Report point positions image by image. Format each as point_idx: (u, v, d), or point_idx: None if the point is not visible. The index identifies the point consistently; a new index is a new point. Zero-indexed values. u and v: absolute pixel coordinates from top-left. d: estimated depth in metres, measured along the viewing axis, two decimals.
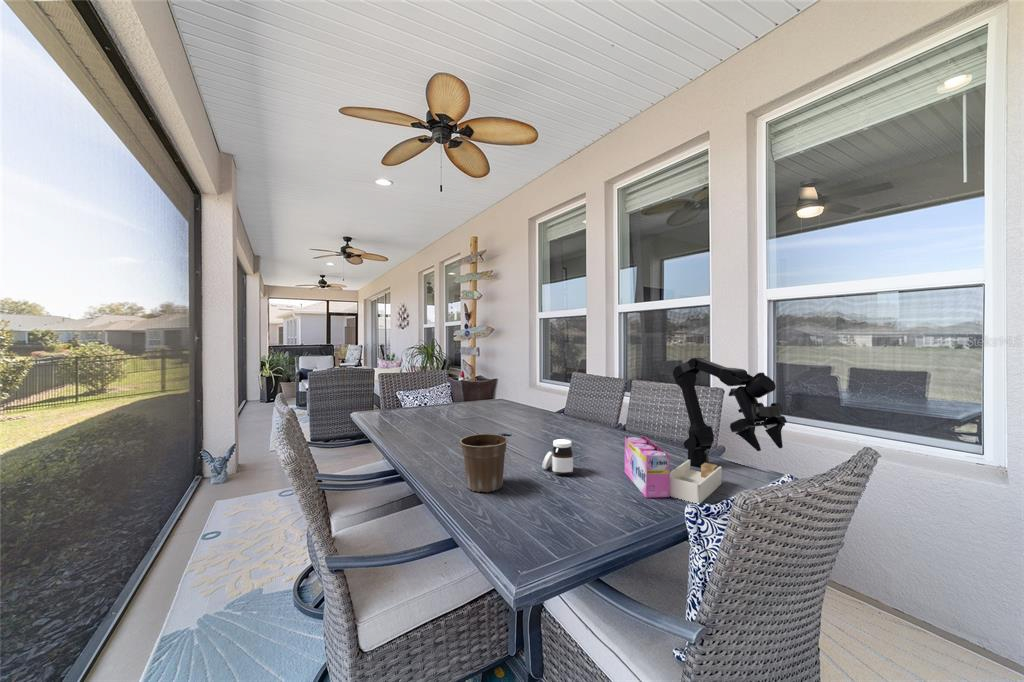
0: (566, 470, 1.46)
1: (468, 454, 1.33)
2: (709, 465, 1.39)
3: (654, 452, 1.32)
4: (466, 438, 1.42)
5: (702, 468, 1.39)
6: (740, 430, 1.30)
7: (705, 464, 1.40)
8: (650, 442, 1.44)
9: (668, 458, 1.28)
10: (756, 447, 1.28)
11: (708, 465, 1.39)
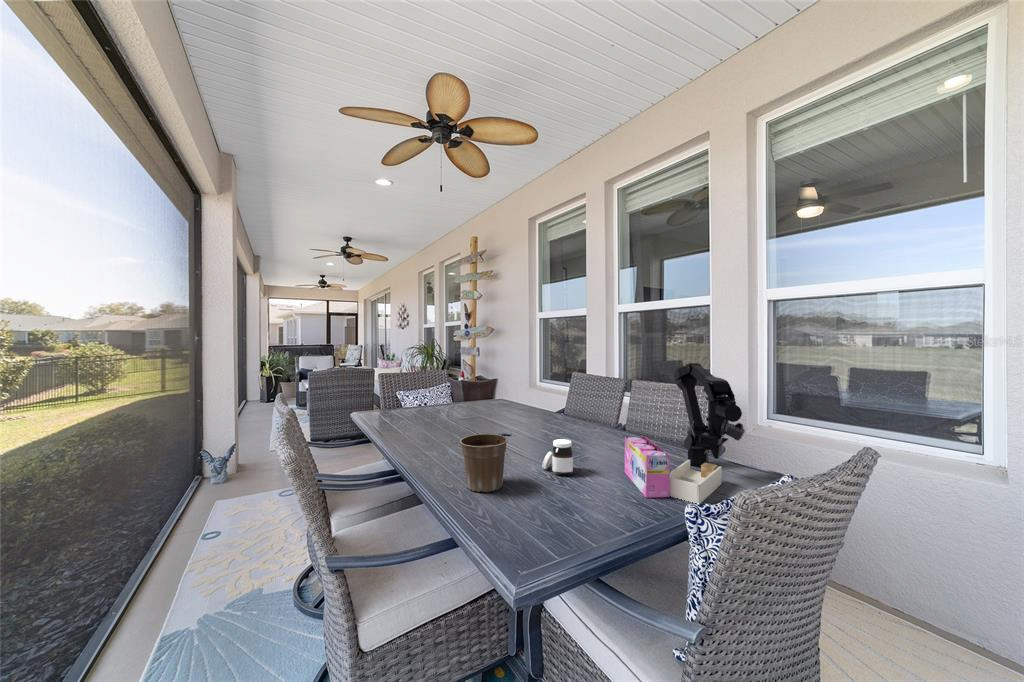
0: (566, 470, 1.46)
1: (468, 454, 1.33)
2: (709, 465, 1.39)
3: (654, 452, 1.32)
4: (466, 438, 1.42)
5: (702, 468, 1.39)
6: None
7: (705, 464, 1.40)
8: (650, 442, 1.44)
9: (668, 458, 1.28)
10: (716, 456, 1.44)
11: (708, 465, 1.39)
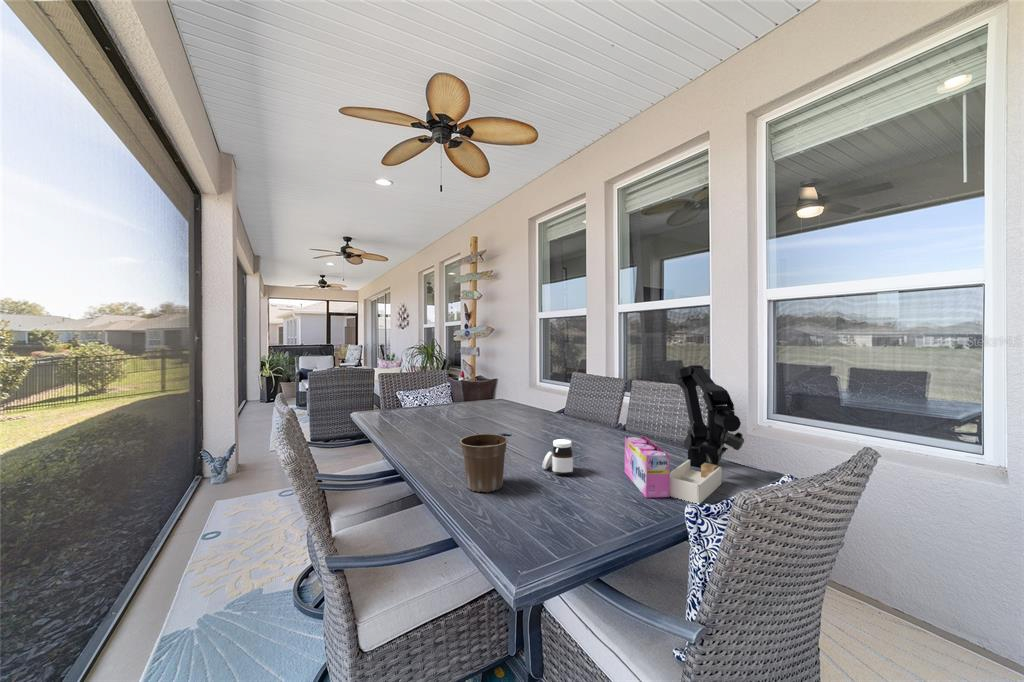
0: (566, 470, 1.46)
1: (468, 454, 1.33)
2: (709, 465, 1.39)
3: (654, 452, 1.32)
4: (466, 438, 1.42)
5: (702, 468, 1.39)
6: None
7: (705, 464, 1.40)
8: (650, 442, 1.44)
9: (668, 458, 1.28)
10: None
11: (708, 465, 1.39)
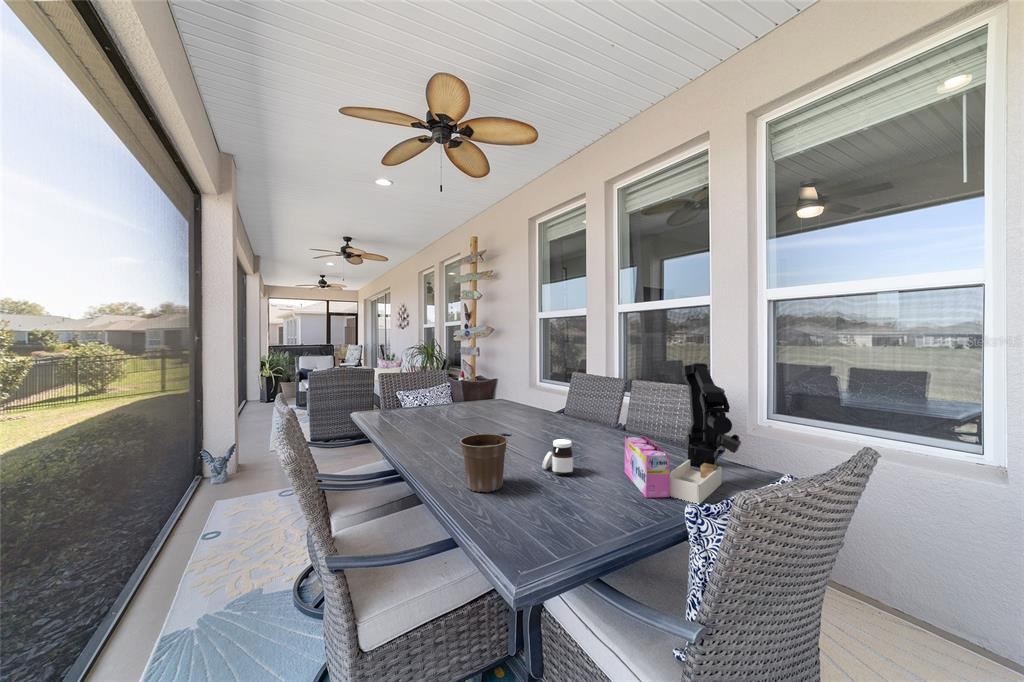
0: (566, 470, 1.46)
1: (468, 454, 1.33)
2: (708, 465, 1.38)
3: (654, 452, 1.32)
4: (466, 438, 1.42)
5: (701, 468, 1.38)
6: None
7: (704, 464, 1.39)
8: (650, 442, 1.44)
9: (668, 458, 1.28)
10: None
11: (707, 465, 1.39)
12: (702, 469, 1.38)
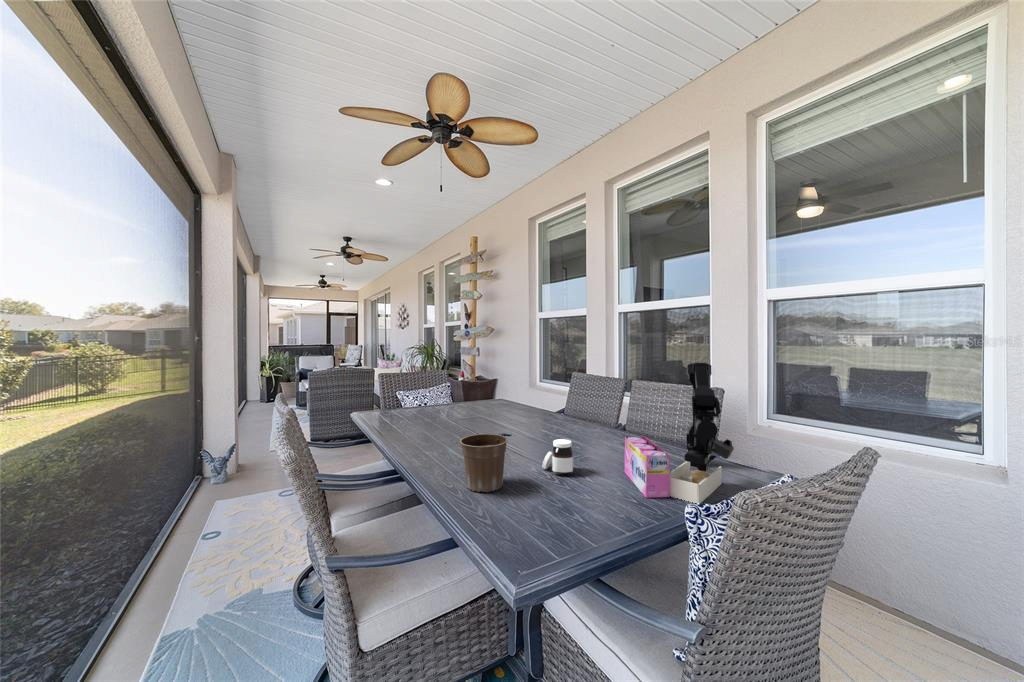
0: (566, 470, 1.46)
1: (468, 454, 1.33)
2: (700, 472, 1.32)
3: (654, 452, 1.32)
4: (466, 438, 1.42)
5: (693, 475, 1.32)
6: None
7: (696, 471, 1.33)
8: (650, 442, 1.44)
9: (668, 458, 1.28)
10: None
11: (699, 472, 1.32)
12: (693, 476, 1.32)
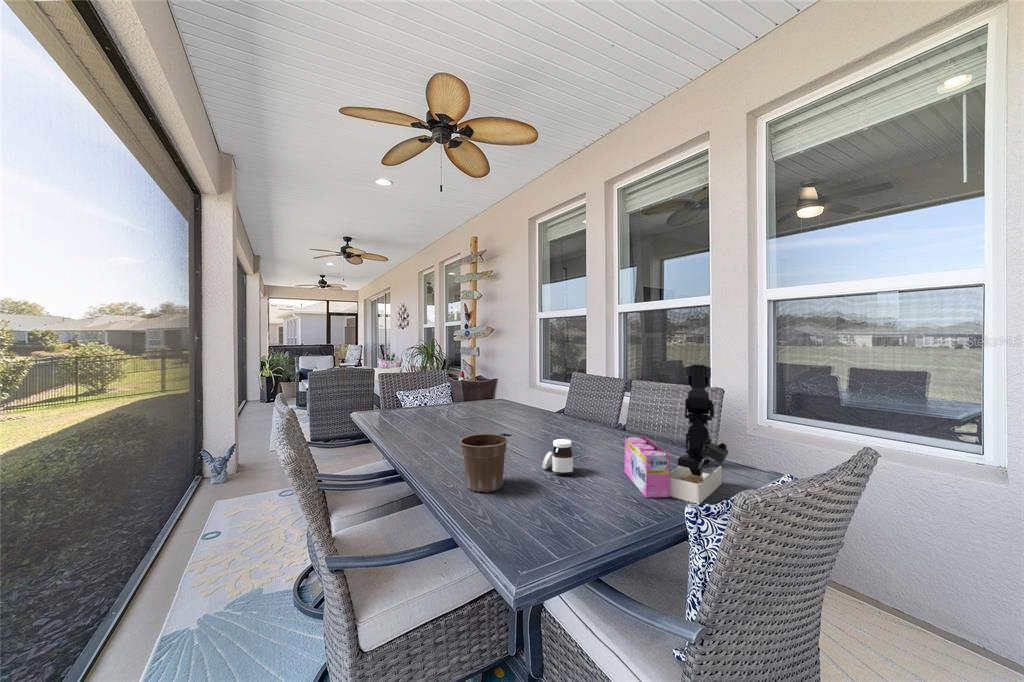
0: (566, 470, 1.46)
1: (468, 454, 1.33)
2: (694, 477, 1.28)
3: (654, 452, 1.32)
4: (466, 438, 1.42)
5: (687, 480, 1.28)
6: None
7: (690, 476, 1.29)
8: (650, 442, 1.44)
9: (668, 458, 1.28)
10: None
11: (693, 476, 1.28)
12: None
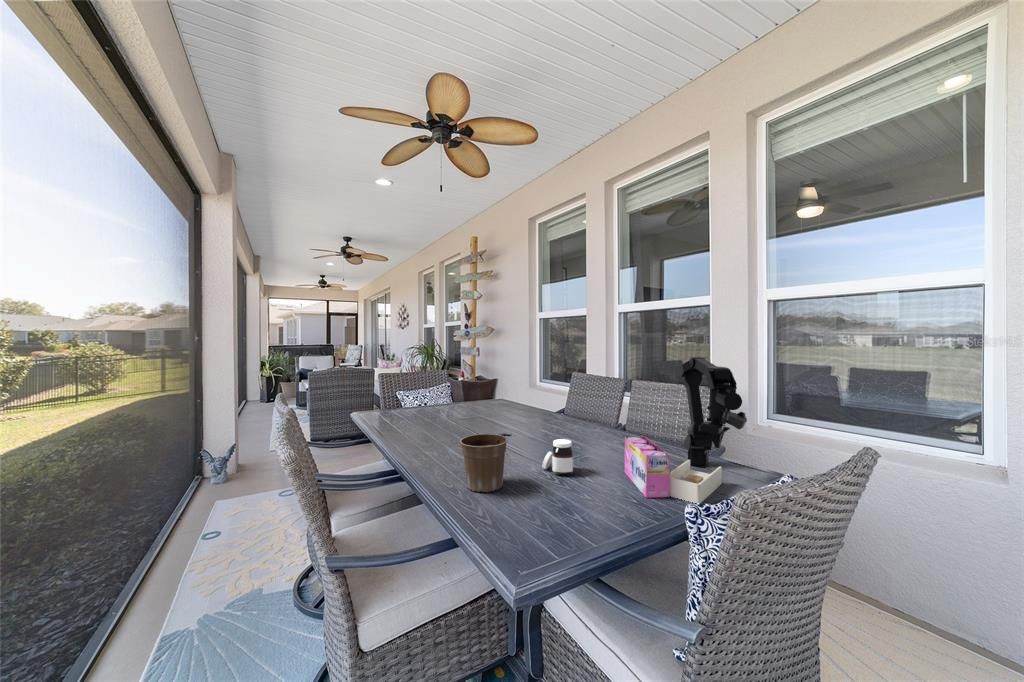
0: (566, 470, 1.46)
1: (468, 454, 1.33)
2: (694, 477, 1.28)
3: (654, 452, 1.32)
4: (466, 438, 1.42)
5: (687, 480, 1.28)
6: None
7: (690, 476, 1.29)
8: (650, 442, 1.44)
9: (668, 458, 1.28)
10: (717, 445, 1.41)
11: (693, 476, 1.28)
12: None
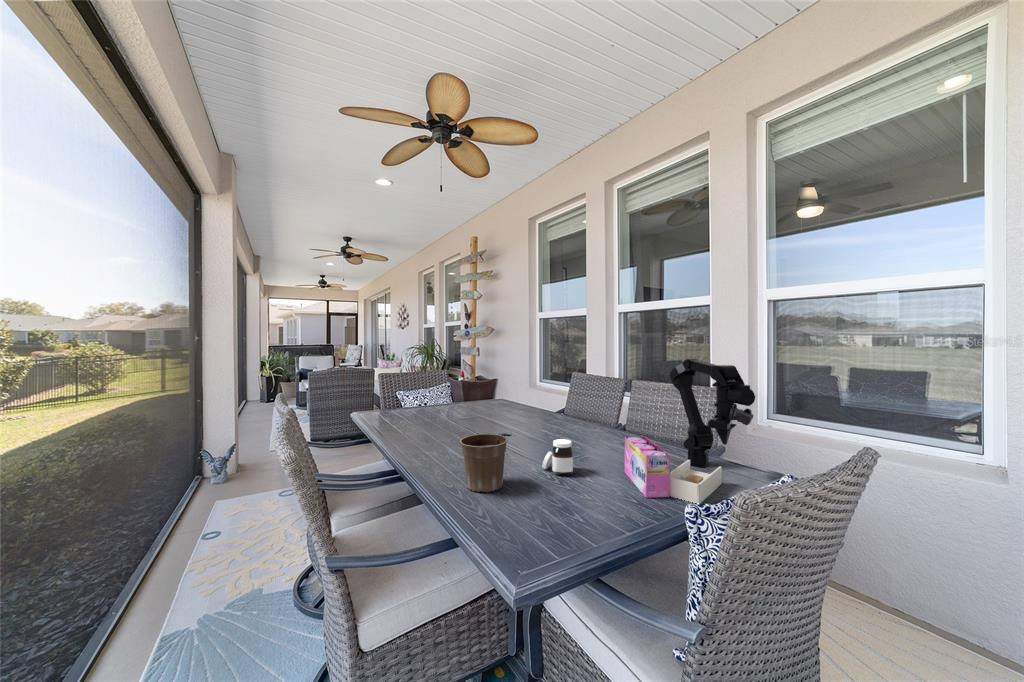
0: (566, 470, 1.46)
1: (468, 454, 1.33)
2: (694, 477, 1.28)
3: (654, 452, 1.32)
4: (466, 438, 1.42)
5: (687, 480, 1.28)
6: None
7: (690, 476, 1.29)
8: (650, 442, 1.44)
9: (668, 458, 1.28)
10: (724, 441, 1.44)
11: (693, 476, 1.28)
12: None
